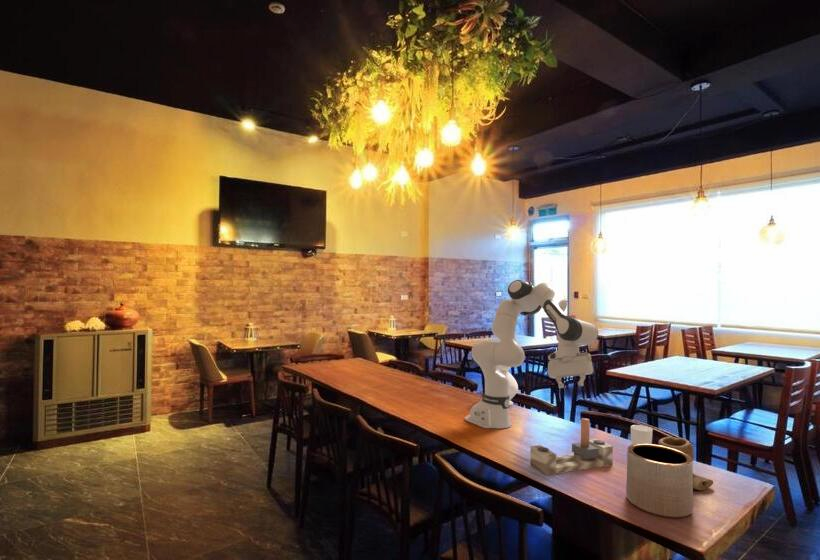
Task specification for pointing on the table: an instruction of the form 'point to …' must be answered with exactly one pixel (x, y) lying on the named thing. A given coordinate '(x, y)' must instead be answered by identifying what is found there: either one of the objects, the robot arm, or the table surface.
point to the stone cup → (687, 448)
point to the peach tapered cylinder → (585, 443)
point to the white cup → (641, 434)
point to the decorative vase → (512, 382)
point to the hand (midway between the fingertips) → (570, 386)
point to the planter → (660, 480)
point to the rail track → (569, 459)
